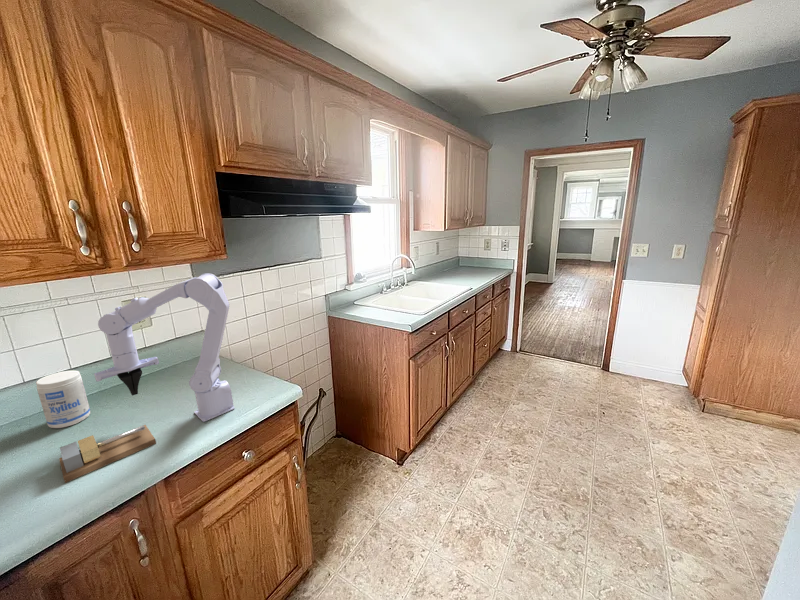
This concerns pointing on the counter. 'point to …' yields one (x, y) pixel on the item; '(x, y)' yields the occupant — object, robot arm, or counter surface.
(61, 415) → the supplement tub
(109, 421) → the counter surface
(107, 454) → the base
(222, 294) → the robot arm
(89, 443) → the nut
